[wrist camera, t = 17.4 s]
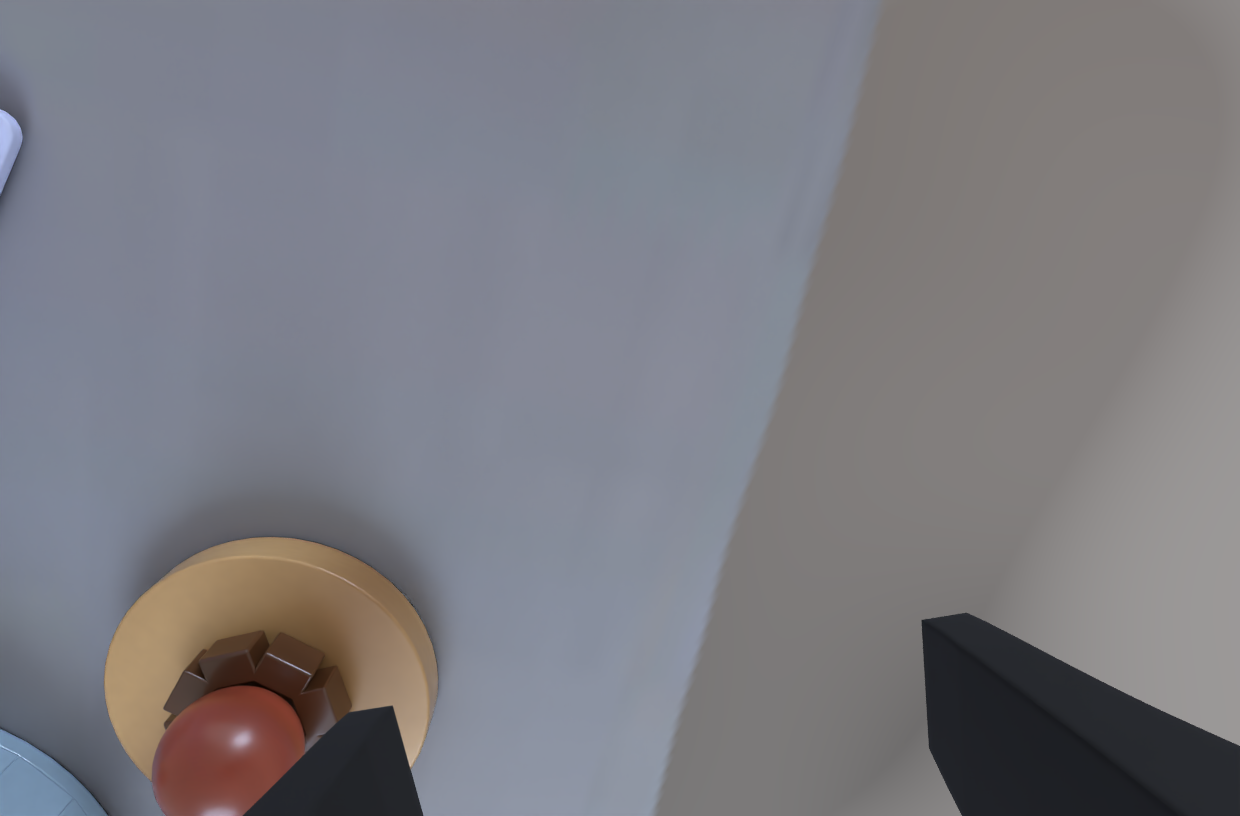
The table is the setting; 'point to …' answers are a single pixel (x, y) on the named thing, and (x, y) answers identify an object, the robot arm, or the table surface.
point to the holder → (270, 642)
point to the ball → (225, 752)
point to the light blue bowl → (39, 784)
